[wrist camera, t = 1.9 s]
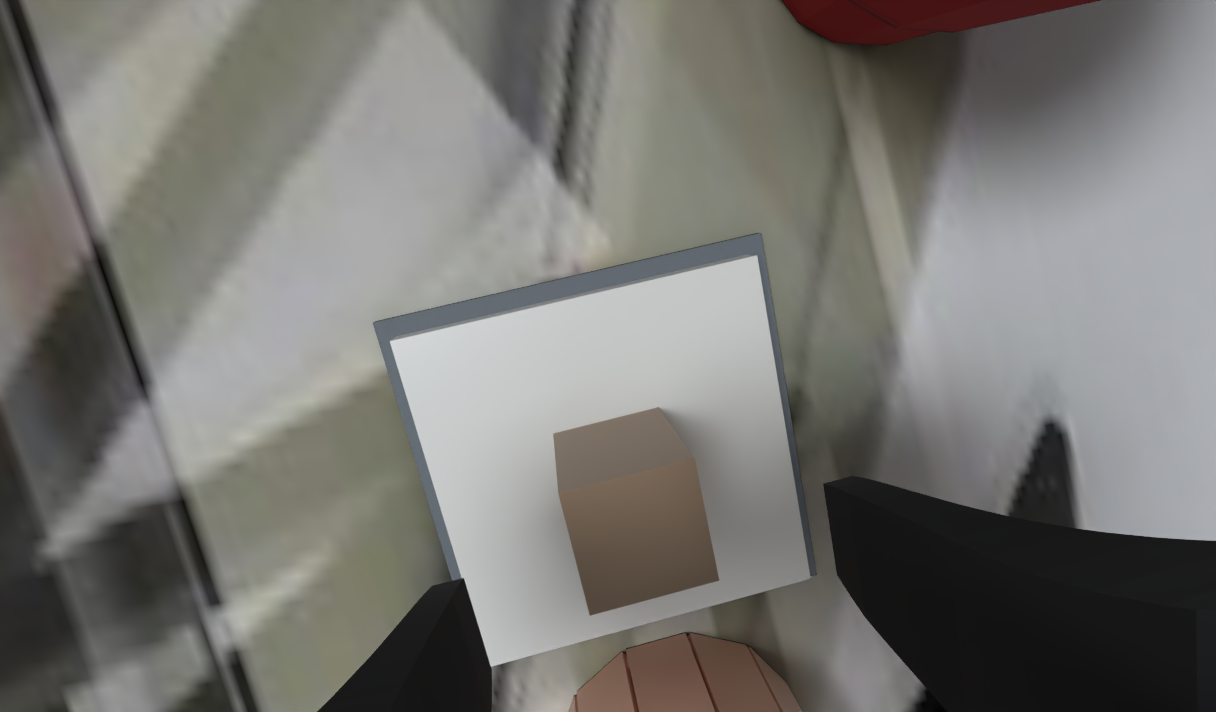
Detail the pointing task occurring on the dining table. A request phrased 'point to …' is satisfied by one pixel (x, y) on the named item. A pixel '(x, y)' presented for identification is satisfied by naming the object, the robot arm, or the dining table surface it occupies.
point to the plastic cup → (910, 16)
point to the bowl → (686, 680)
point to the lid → (609, 455)
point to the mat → (565, 288)
